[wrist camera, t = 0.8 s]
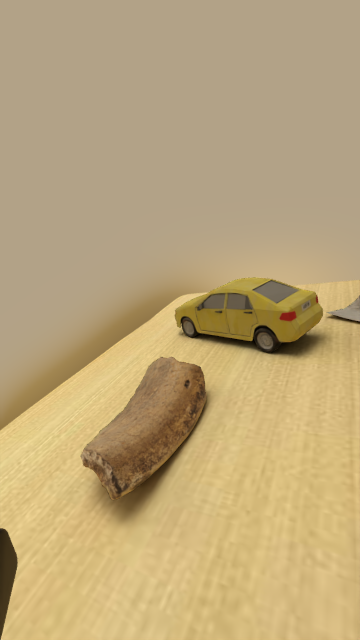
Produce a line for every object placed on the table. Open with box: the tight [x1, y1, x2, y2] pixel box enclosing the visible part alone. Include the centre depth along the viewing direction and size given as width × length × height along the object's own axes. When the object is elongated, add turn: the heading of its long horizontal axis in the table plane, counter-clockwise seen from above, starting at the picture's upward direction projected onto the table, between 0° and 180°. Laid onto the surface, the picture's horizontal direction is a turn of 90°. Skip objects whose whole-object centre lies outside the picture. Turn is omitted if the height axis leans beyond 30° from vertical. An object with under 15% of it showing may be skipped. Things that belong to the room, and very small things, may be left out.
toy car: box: [175, 277, 323, 353], centre depth 58 cm, size 12×28×10 cm, turn 43°
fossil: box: [81, 357, 207, 500], centre depth 37 cm, size 22×6×10 cm
